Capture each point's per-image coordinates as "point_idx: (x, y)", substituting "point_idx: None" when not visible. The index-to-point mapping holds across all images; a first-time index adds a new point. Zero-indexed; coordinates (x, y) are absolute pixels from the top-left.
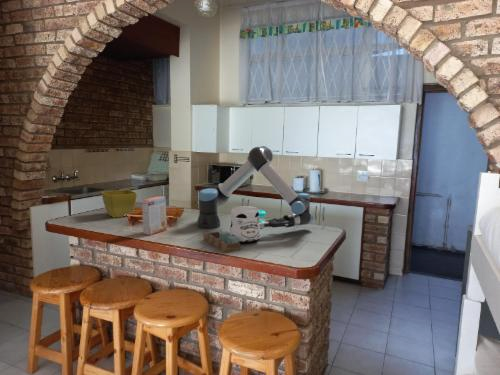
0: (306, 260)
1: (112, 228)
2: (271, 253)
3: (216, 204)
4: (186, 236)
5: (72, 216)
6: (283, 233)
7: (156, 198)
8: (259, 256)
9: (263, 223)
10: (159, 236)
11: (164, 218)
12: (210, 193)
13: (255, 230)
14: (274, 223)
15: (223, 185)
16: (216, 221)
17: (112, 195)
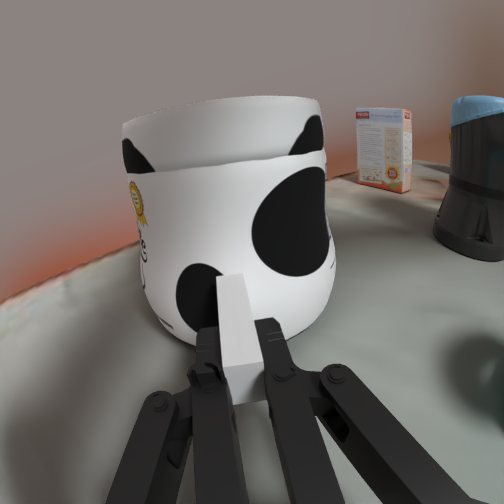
0: None
1: None
2: (39, 323)
3: (485, 154)
4: (346, 206)
5: (446, 165)
6: None
7: (379, 108)
8: (59, 290)
9: (218, 309)
10: (350, 188)
11: (397, 161)
12: (462, 99)
13: (140, 257)
14: (140, 415)
15: None
16: (464, 226)
17: (450, 133)
